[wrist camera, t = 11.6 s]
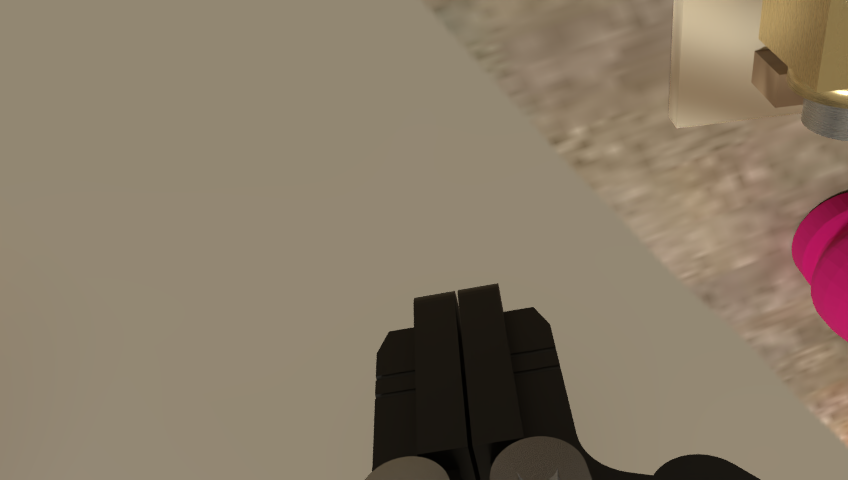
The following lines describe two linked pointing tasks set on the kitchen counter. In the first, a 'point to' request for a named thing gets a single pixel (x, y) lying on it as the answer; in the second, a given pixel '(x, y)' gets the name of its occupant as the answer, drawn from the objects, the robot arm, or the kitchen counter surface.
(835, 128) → the ball valve
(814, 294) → the pepper mill
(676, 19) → the board
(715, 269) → the kitchen counter surface
